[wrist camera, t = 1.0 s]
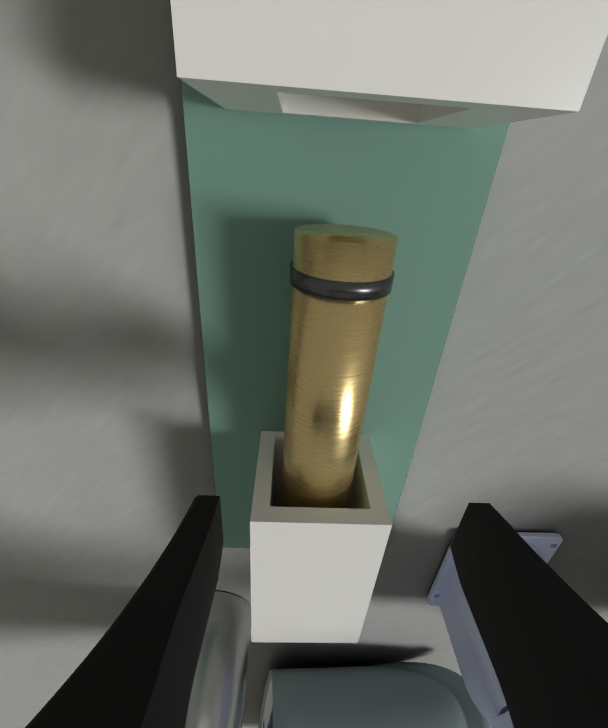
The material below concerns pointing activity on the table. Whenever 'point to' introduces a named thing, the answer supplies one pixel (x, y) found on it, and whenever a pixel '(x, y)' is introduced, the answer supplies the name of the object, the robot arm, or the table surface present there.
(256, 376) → the mat
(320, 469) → the tube
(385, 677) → the pencil case
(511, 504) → the table surface
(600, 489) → the table surface
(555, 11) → the socket
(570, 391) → the table surface
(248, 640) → the white tall cylinder
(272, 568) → the sleeve
